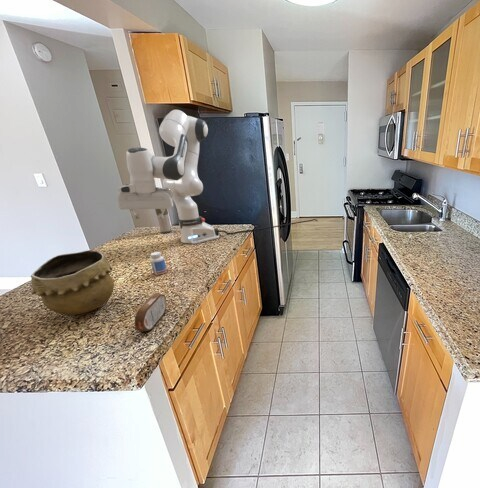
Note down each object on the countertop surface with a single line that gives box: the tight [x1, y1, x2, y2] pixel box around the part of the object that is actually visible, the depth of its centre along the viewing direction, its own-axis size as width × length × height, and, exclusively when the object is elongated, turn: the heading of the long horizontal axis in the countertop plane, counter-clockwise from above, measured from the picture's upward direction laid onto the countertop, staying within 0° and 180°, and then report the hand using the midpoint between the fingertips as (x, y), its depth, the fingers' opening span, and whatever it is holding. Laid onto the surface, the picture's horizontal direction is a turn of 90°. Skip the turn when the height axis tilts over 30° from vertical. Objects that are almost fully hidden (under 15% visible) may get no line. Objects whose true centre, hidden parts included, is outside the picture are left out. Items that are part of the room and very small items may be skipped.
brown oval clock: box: [134, 293, 167, 332], centre depth 87 cm, size 15×3×8 cm, turn 5°
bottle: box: [154, 186, 172, 234], centre depth 171 cm, size 7×7×30 cm
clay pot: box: [30, 249, 115, 316], centre depth 91 cm, size 21×21×20 cm
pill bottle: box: [149, 251, 168, 276], centre depth 120 cm, size 6×5×10 cm
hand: (149, 218), depth 117 cm, fingers open, 8 cm apart
